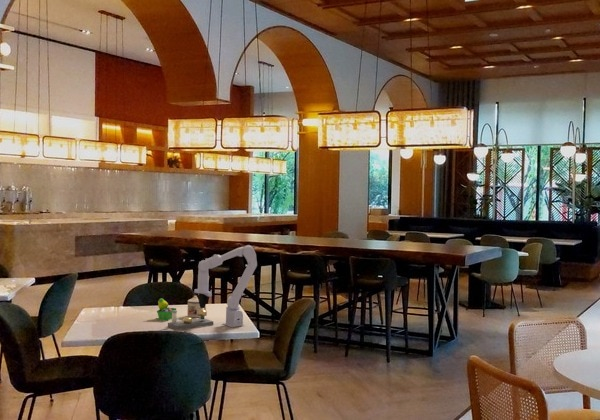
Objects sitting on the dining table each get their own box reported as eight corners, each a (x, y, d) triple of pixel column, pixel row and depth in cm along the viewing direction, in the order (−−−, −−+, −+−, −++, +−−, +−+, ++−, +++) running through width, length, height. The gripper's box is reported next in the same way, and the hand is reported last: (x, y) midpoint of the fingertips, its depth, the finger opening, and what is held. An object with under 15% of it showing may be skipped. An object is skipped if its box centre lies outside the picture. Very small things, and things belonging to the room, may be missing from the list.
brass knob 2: (208, 319, 359) (208, 311, 359) (201, 320, 356) (201, 311, 356) (203, 317, 362) (203, 309, 362) (196, 318, 360) (196, 310, 359)
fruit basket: (168, 321, 367) (169, 300, 366) (153, 320, 368) (154, 299, 368) (176, 317, 378) (177, 297, 377) (162, 316, 380) (162, 296, 379)
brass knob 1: (193, 326, 353) (193, 318, 353) (186, 327, 350) (186, 319, 350) (189, 325, 357) (189, 316, 357) (181, 326, 354) (182, 317, 354)
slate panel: (213, 325, 359) (213, 321, 359) (177, 329, 345) (177, 326, 345) (203, 321, 367) (203, 318, 367) (167, 326, 353) (167, 322, 353)
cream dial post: (177, 323, 351) (178, 310, 351) (173, 324, 350) (173, 311, 349) (175, 322, 354) (175, 310, 353) (170, 323, 352) (170, 310, 352)
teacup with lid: (183, 316, 380) (184, 296, 380) (193, 314, 388) (194, 294, 388) (200, 319, 375) (201, 298, 374) (210, 316, 383) (210, 296, 382)
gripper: (189, 281, 362) (189, 306, 362) (204, 285, 350) (203, 310, 351) (201, 280, 366) (200, 305, 367) (215, 284, 355) (214, 309, 355)
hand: (202, 307), depth 359 cm, fingers closed
